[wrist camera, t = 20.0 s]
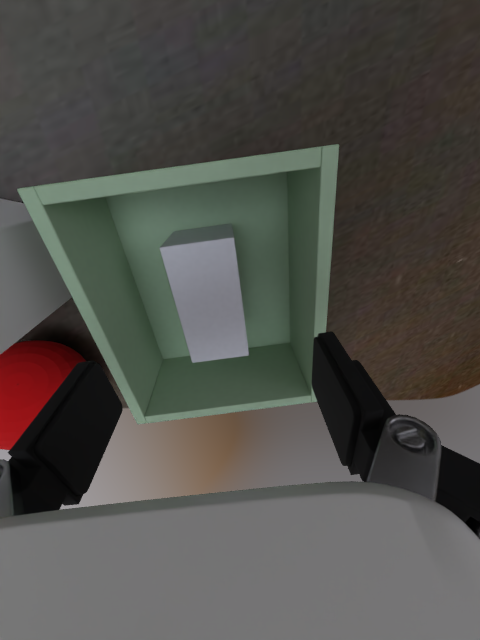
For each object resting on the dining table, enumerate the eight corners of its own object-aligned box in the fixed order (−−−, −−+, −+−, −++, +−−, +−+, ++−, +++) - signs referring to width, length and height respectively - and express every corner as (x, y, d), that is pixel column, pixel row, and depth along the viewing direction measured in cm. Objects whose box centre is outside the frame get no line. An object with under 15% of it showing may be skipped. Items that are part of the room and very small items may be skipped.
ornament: (111, 349, 21) (112, 371, 29) (-12, 308, 19) (27, 344, 27) (50, 469, 17) (71, 455, 25) (-121, 436, 14) (-35, 433, 23)
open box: (295, 155, 18) (339, 143, 11) (295, 343, 26) (321, 401, 19) (94, 183, 18) (15, 188, 11) (159, 360, 26) (137, 424, 19)
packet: (231, 223, 19) (234, 237, 15) (244, 322, 23) (249, 355, 19) (173, 231, 19) (158, 247, 15) (197, 329, 24) (192, 363, 19)
